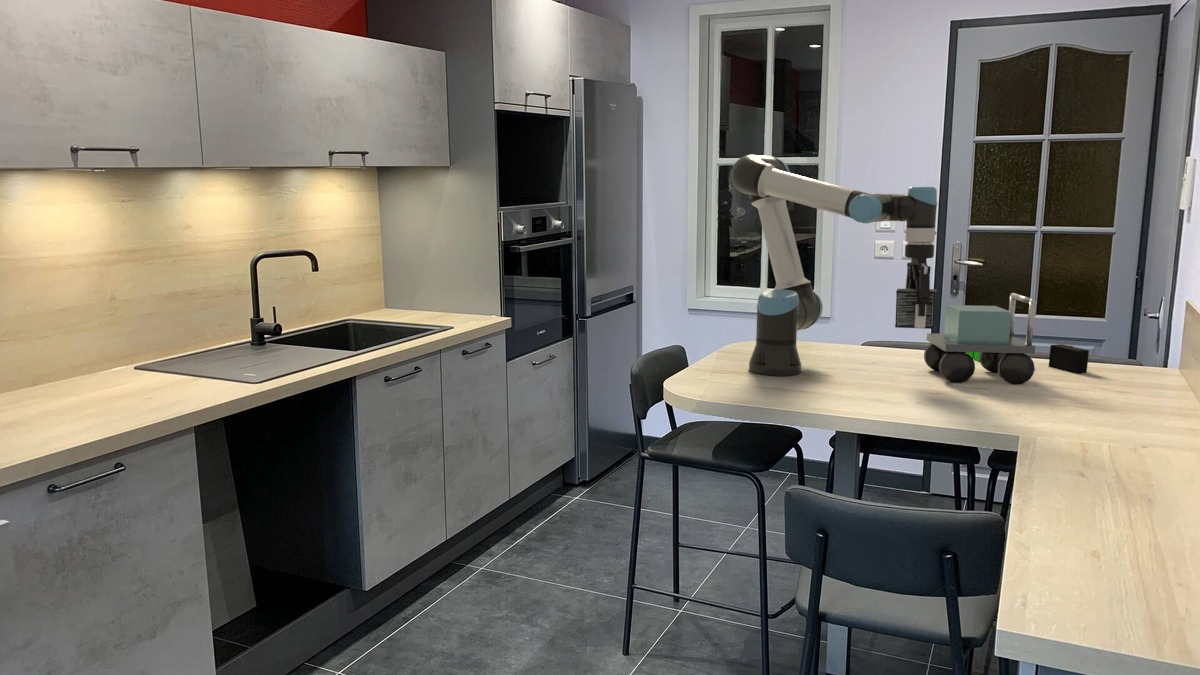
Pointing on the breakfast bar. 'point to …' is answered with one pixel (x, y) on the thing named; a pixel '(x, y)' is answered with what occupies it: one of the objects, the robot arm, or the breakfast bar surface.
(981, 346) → the trolley
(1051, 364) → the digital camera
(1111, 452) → the breakfast bar surface
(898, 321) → the small box
